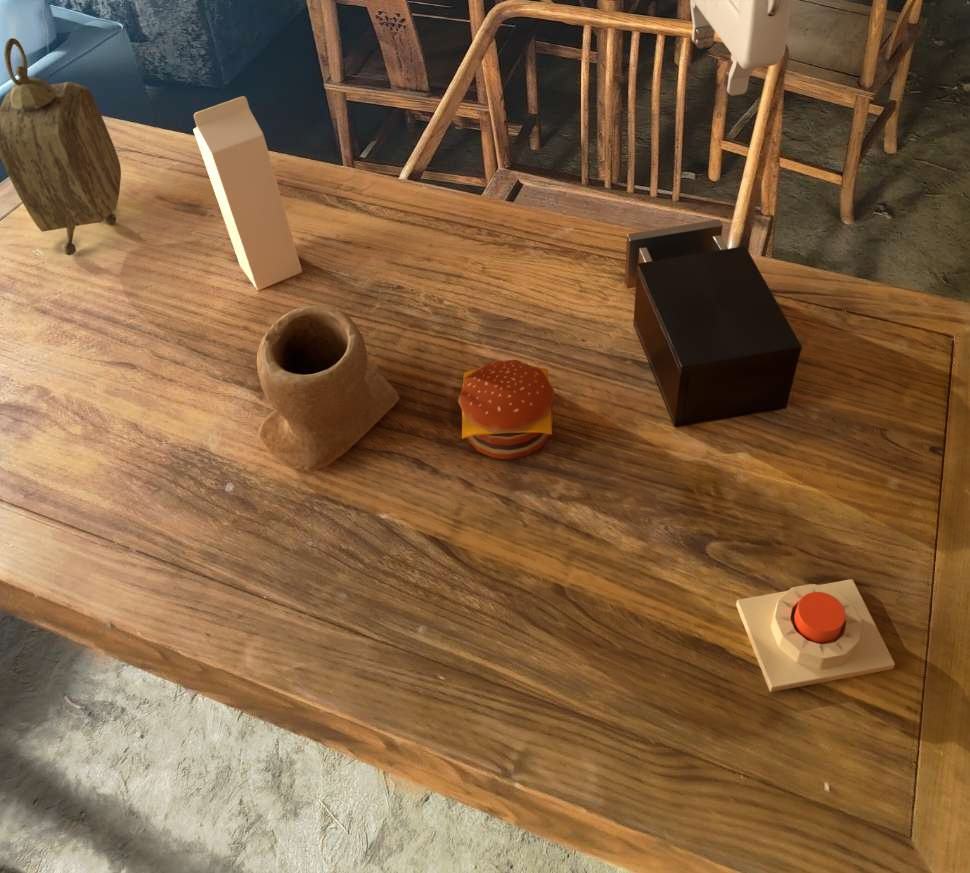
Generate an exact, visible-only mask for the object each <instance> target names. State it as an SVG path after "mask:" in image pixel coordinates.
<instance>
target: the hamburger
mask: <svg viewBox="0 0 970 873" xmlns="http://www.w3.org/2000/svg"><path fill="white" fill-rule="evenodd" d="M462 376H463V377H462V388H461V391H460V394H459V395H458V399H457V403H458V405H459V408H460V409H461V439H462V440H463V439H467V441H468V443H469V444H471V445H472V447H473V448H474V449H475V450H476V451H477V452H479V453H481V454H483V455H486V456H487V457H489V458H492V459H500V460H514V459H520V458H523V457H528V456H530V455H531V454H533V453H535V452H536V451H539V449H542V447H543V446H544V445H545V444H546V442H547V441H548V439H549V438H550V437H551V435H553V427H554V416H553V410H554V409H553V407H554V402H553V401H554V398H555V395H556V391H555V390H554V387H553V386H552V384H551V383H550V378H549V368H547V367H546V368H545V367H540V366H533V365H532V364H528V363H526V362H523V361H520V360H518V359H511V360H501V361H500V360H499V361H489V362H487V363H486V364H484V365H482V366H481V367H480V368H478V369H473V370H469V371H466V372H464V373H463V375H462Z"/></svg>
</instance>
